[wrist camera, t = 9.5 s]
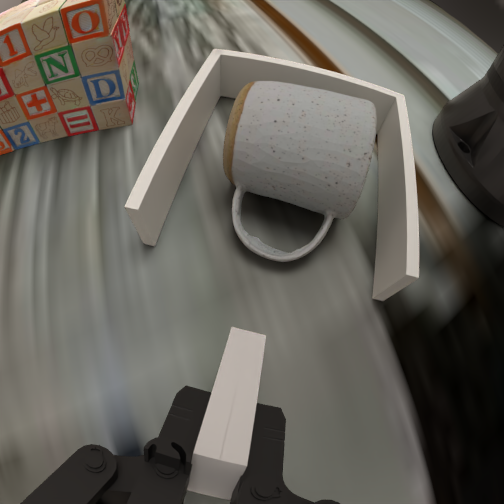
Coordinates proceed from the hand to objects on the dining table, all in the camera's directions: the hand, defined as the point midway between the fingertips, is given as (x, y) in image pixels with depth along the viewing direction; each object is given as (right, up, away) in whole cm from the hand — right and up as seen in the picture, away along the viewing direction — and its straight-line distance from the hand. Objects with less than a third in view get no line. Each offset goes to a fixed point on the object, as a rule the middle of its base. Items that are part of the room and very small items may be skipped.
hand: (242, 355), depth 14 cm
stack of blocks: (-20, +17, +10) cm, 28 cm away
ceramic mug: (+3, +8, +8) cm, 12 cm away
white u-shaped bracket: (+3, +10, +9) cm, 14 cm away
